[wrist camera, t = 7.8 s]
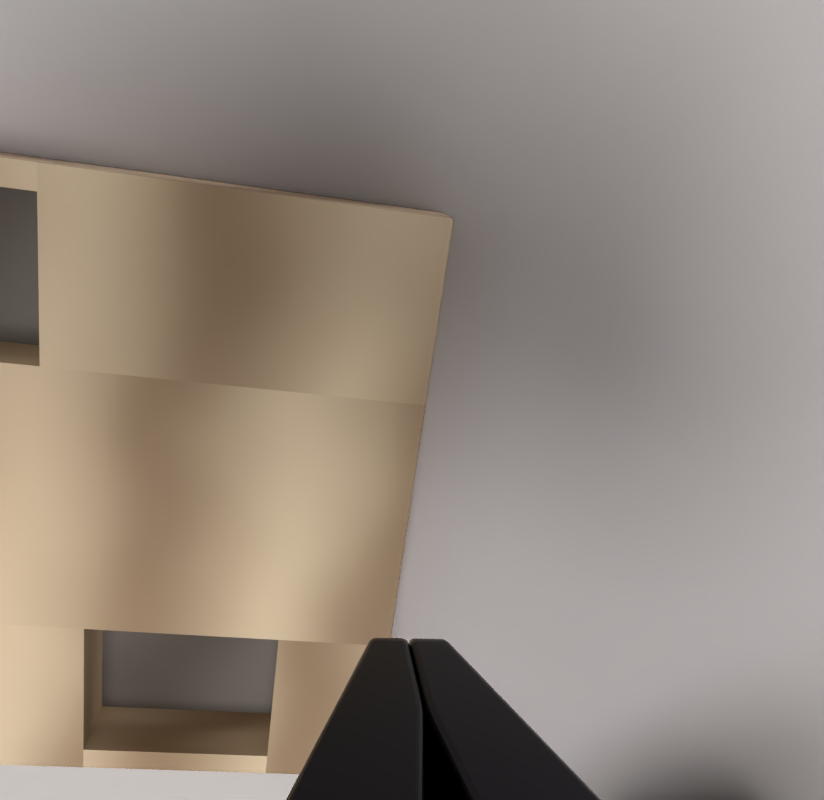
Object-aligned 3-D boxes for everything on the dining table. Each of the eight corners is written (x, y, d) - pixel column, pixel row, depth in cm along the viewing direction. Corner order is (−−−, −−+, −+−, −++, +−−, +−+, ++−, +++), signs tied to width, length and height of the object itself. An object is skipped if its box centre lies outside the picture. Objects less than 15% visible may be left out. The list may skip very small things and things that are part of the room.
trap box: (441, 212, 19) (477, 231, 14) (367, 726, 23) (374, 870, 19) (-359, 102, 16) (-642, 81, 12) (-261, 700, 21) (-433, 857, 16)
